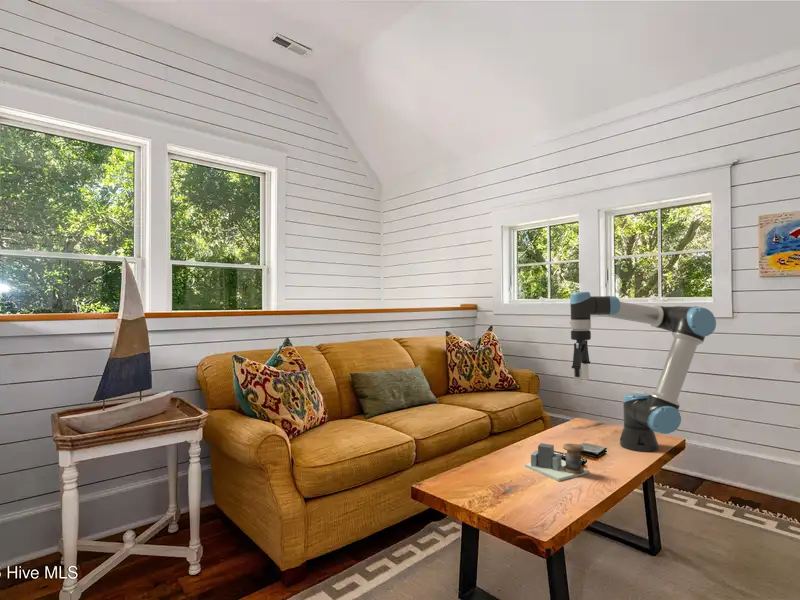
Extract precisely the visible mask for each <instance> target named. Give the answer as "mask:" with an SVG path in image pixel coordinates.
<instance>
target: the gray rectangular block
mask: <svg viewBox="0 0 800 600" xmlns="http://www.w3.org/2000/svg"><path fill="white" fill-rule="evenodd" d="M554 447H555V446H554V444H549V443H548V444H547V443H540V444H539V445H537V451H538V467H544V468H550V469H552V468H553V457H554V456H555V448H554Z"/></svg>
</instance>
